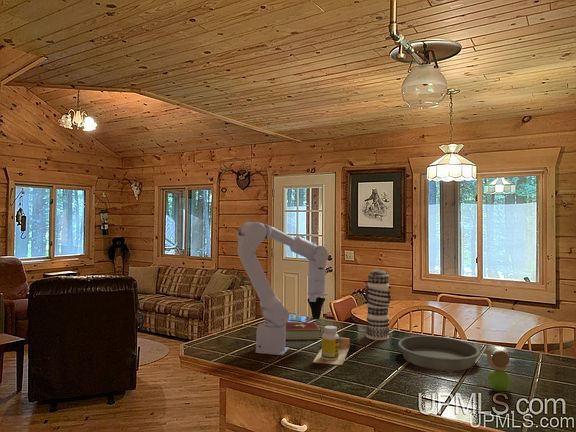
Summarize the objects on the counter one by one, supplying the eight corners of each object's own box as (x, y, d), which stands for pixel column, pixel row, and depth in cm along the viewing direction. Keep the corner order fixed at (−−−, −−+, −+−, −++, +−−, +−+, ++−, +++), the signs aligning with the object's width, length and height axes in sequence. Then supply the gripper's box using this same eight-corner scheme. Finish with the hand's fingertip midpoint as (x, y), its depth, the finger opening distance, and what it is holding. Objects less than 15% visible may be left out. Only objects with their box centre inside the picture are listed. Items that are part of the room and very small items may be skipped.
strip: (312, 362, 133) (313, 351, 133) (324, 344, 152) (324, 335, 152) (342, 365, 131) (342, 354, 131) (349, 346, 150) (349, 337, 150)
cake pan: (383, 359, 138) (383, 345, 138) (419, 344, 156) (419, 331, 156) (461, 379, 121) (461, 363, 121) (491, 360, 139) (491, 346, 139)
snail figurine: (480, 386, 115) (480, 341, 115) (503, 386, 116) (503, 341, 116) (491, 395, 110) (491, 347, 110) (515, 394, 110) (515, 347, 111)
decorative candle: (371, 332, 170) (372, 268, 171) (393, 336, 165) (394, 270, 165) (360, 337, 163) (361, 270, 163) (384, 341, 157) (384, 272, 158)
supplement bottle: (337, 361, 134) (338, 329, 134) (320, 360, 135) (320, 328, 135) (339, 356, 139) (339, 325, 139) (322, 354, 140) (322, 324, 140)
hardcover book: (262, 332, 170) (262, 321, 170) (315, 332, 171) (315, 321, 171) (263, 341, 158) (263, 329, 158) (320, 340, 159) (320, 329, 160)
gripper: (324, 283, 143) (323, 324, 143) (331, 277, 157) (330, 315, 157) (303, 282, 145) (303, 323, 144) (312, 276, 159) (311, 314, 158)
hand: (316, 319), depth 151 cm, fingers closed
